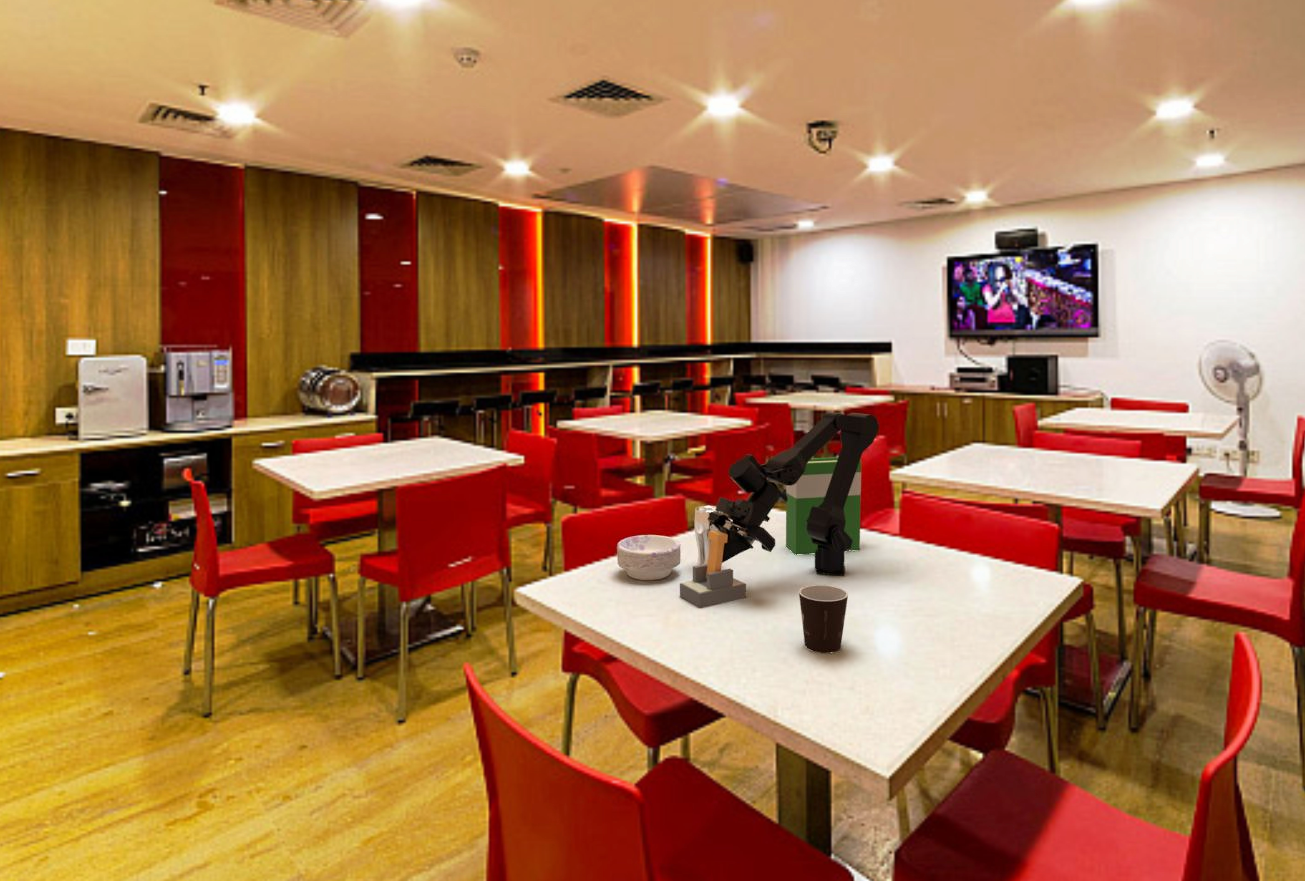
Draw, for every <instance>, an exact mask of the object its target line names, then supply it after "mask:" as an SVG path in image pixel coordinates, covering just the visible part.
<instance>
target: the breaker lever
mask: <svg viewBox="0 0 1305 881" xmlns="http://www.w3.org/2000/svg"><path fill="white" fill-rule="evenodd" d="M708 539H709V540H710V548H709V556H708V565H707V573H710V572H715V571H720V570H722V568H721V567H723V563H722V558H723V549H724V543H727V539H728V534H725V533H722V532H720V531H709V533H708ZM707 573H706V578H707Z"/></svg>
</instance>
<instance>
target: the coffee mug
mask: <svg viewBox="0 0 1305 881" xmlns="http://www.w3.org/2000/svg"><path fill="white" fill-rule="evenodd" d="M848 596H849V593H848V592H847V591H846V589H843V588H841V587H837V586H833V585H827V584H814V585H813V584H812V585H807V586H803V587H801V588H800V589H799V590H798V597H799V606H800V614H801V624H802V632H803V640H804V646H806V647H807V648H806V647H805V648H806V649H807V650H809V649H810V650H809V651H811V650H812V651H811V652H813V653H814V652H815V653H819V652H820V654H832V653H831V652H833V653H836V652H838V651H840V650H841V647H842V640H843V634H844V633H843V632H844V626H845V619H846V612H847V604H848Z"/></svg>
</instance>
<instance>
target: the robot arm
mask: <svg viewBox="0 0 1305 881" xmlns="http://www.w3.org/2000/svg"><path fill="white" fill-rule="evenodd" d="M879 429H880V423H879V422H878V419H877V418H876V417H875V415H873V414H868V413H867V414H865V413H857V412H850V413H849V414H848V413H847V414H843V413H841V412H831V411H830V412H829V411H828V412H826V413H824V414H823V415H822V417H821V419H820V420H819V421H818V422H817V423H815V424H814V426H812V428H811V429H810V430H809V431H808V432H807V433H806V434H804V436H802V437H801V438H800V439H799V440H798V441H797V442H796V443H795V444H793V446H792V447H790V448H788V449H785V450H783V451H781V452H778V453H777V454H776V455H774V456H773V457H771V458H770V459H768V460H767V461H766V463H763V464H761V463H759V462H758V460H757V459H756V457H755V456H754V455H753V454H748V453H747V454H745V456H744V457H742V458H739V459H737V460H736V461H735V462H734V463H732V464H731V465H730V467H729V469H728V477H729V478H730V479H732V481H733V482H734V483H735V484H736V485H737V486H738V487H739V488H740V489H741V490H742V491H744V493H746V494H749V495H748V497H747V498H746V500H745V499H741V498H737V499H736V501H734V500H731V499H728V498H725V497H722V496H720V497H719V499H718V501H717V504H716V506H717V507H716V509H715V510H716V511H718V512H712V513H711V515H710V516H709V517H708V521H709V522H710V523H712V524H713V525H714V526H715V527H716V528H717V529H718V530H719V531H720V532H722V533H725V534H728V539H727V543H724V549H723V558H722V564H723V563H724V562H727V561H728V560H730V559H732V558H734V557H736V556H737V555H739V554H741V553H744V552H746V551H748V550H750V549H751V550H752V549H754V546H753V543H754V542H755V541H757V542H759V543H760V545H761V549H762V550H764V551H767V552H769V553H772V551H773V550H774V549H775V547H776V539H775V537H774V536H772V535H771V534H770V533H769V532H768V531H767V530H766V528H764V527H763V526H762V524H763V522H765V523H766V522H769V521H770V520H771V517H770V516H769V515H770V513H771V511H772V510H773V508H774V507H775V505H776V504H777V502H778V501H782V502H785V503H786V502H787V501H788V498H787V494H786V488H781V487H779V486H778V485H777V484H780V485H783V486H786V485H788V486H792V485H794V484H795V483H796V482H797V481H798V480H799V479H800V477H801V476H802V475H803V473H804V472H805V469H806V464H807V463H808V461H809V460H810V459H811V458H814V457H815V455H816V454H817V453H819V451H821V449H823V448H824V447H825V446H826V444H828V443H829V442H830V441H831V440H832V439H833V438H834V437H835V436H836V435H837V434H838V433H839V436H840V437H839V438H840V442H841V449H840V450H839V451H840V452H839V455H838V456H837V457H838V460H837V463H836V466H835V469H834V472H833V475H832V478H831V481H830V483H829V486H828V489H827V492H826V495H825V498H824V501H823V503H822V504H821V505H820V506H819V507H814V506H813V507H812V508H811V510H810V515H809V517H808V519H807V521H806V522H808V523H807V531H808V534H809V535H810V538H811V541H812V543H813V544H817V545H818V547H817V550H815V554H814V569H815V570H816V574H817V575H829V576H830V575H832V576H845V573H846V572H845V571H846V566H845V555H846V552H845V551H847V549H851V546H852V542H853V540H852V539H851V538H850V537H849V535H848V534H847V533H846V532H845V531H844V528H845V523H846V520H845V515H844V506H845V503H846V500H847V497H848V494H849V491H850V488H851V485H852V482H853V479H854V476H855V473H856V470H857V467H858V464H859V461H861V458H862V456H863V454H864V452H865V451H866V450H867V449H868V448H869V447H870V446H871V445H872V444H873V443H874V441H875V439H876V437H877V435H878V432H879ZM719 511H721V512H722V513H719ZM847 552H848V551H847Z"/></svg>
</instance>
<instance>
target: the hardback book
mask: <svg viewBox="0 0 1305 881" xmlns="http://www.w3.org/2000/svg"><path fill="white" fill-rule="evenodd" d="M838 457H839V456H836V457H812V458H811V459H810V460H809V461H808V463H807V464H806V469H805V472H804V473H803V475H802V476H801V477H800V479H799V480H798V481H797V482H796V483H795V484H794V485H792V486H788V485H785V486H786V488H785V489H786V494H787V498H788V501H787V502H785V506H786V507H785V548H786V547H787V548H788V549H787V548H786V549H787V550H789V551H790V550H791V551H792V552H791V551H790V552H791V553H792V554H794V555H795V554H796V555H795V556H798V555H797V554H804V555H810V554H809V553H815V550H817V547H818V545H817V544H813V543H812V541H811V538H810V535H809V534H808V531H807V523H808V522H806V521H807V519H808V517H809V515H810V510H811V508H812V507H813V506H814V507H819V506H820V505H821V504H822V503H823V501H824V498H825V495H826V492H827V489H828V486H829V483H830V481H831V478H832V475H833V472H834V469H835V466H836V463H837V460H838ZM861 488H862V460H860V461H859V464H858V467H857V470H856V473H855V476H854V479H853V482H852V485H851V488H850V491H849V494H848V497H847V500H846V503H845V506H844V515H845V520H846V523H845V528H844V531H845V532H846V533H847V534H848V535H849V537H850V538H851V539H852V540H853V542H852V546H851V549H847V552H850V551H849V550H860V547H861V545H860V544H861V542H860V541H861V500H862V499H861V498H862V496H861V492H862V489H861Z"/></svg>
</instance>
